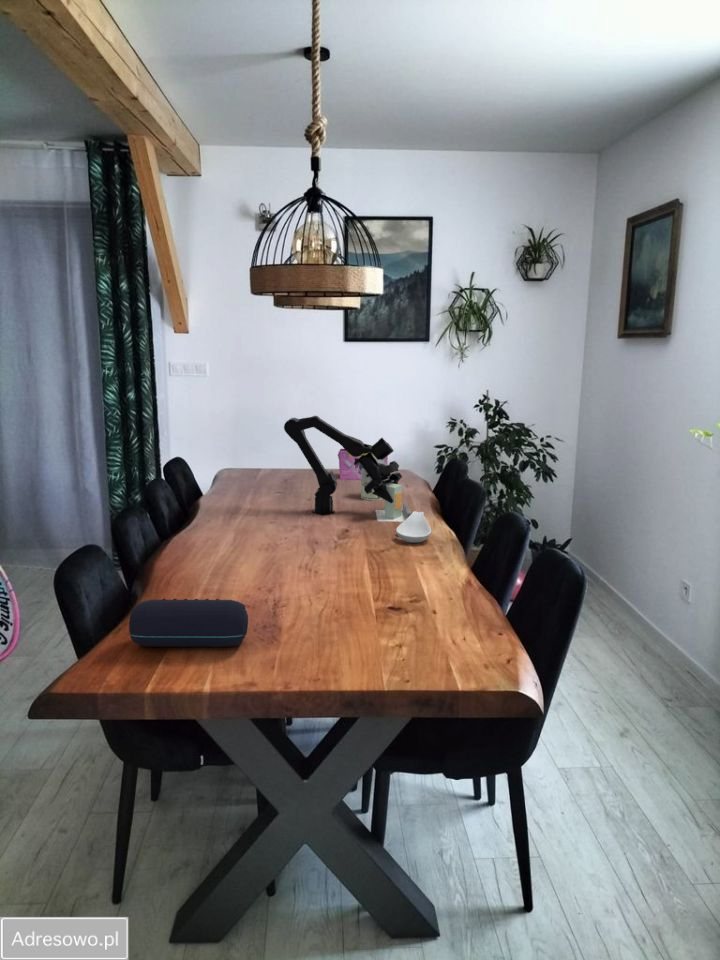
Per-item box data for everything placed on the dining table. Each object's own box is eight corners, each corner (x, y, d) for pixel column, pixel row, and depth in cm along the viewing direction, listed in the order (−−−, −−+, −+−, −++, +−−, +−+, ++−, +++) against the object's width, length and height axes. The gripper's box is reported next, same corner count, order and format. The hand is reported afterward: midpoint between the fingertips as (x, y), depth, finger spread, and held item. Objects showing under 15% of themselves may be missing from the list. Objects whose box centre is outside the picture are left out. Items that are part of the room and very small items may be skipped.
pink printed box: (336, 479, 315) (337, 451, 313) (337, 476, 323) (337, 448, 320) (387, 480, 316) (388, 452, 313) (386, 476, 323) (387, 449, 321)
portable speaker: (251, 634, 151) (251, 592, 149) (245, 655, 141) (245, 611, 139) (139, 634, 150) (137, 592, 148) (126, 654, 140) (123, 610, 138)
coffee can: (361, 494, 286) (362, 462, 283) (385, 495, 285) (386, 463, 282) (359, 500, 276) (360, 466, 273) (384, 501, 275) (385, 467, 272)
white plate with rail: (411, 523, 243) (411, 513, 242) (377, 523, 242) (377, 513, 241) (406, 512, 258) (407, 502, 257) (375, 511, 258) (375, 502, 257)
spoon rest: (429, 547, 216) (430, 526, 215) (393, 544, 218) (394, 523, 217) (434, 527, 239) (435, 508, 238) (402, 525, 241) (403, 506, 240)
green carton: (394, 519, 245) (395, 487, 242) (384, 517, 247) (385, 486, 244) (401, 516, 249) (402, 485, 247) (392, 514, 251) (393, 483, 249)
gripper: (371, 458, 238) (397, 492, 234) (398, 451, 253) (423, 483, 249) (353, 476, 244) (377, 510, 240) (380, 469, 259) (404, 501, 255)
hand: (396, 500), depth 246 cm, fingers closed on green carton, 5 cm apart
